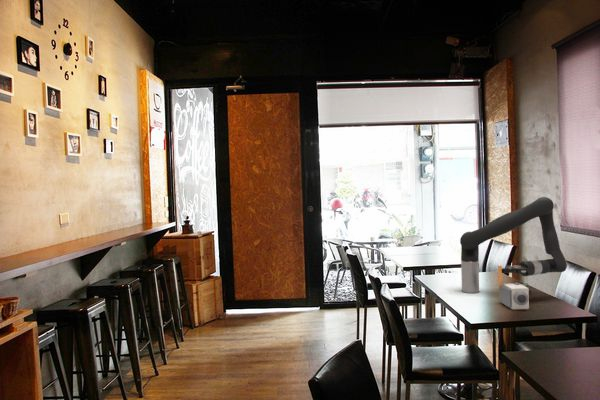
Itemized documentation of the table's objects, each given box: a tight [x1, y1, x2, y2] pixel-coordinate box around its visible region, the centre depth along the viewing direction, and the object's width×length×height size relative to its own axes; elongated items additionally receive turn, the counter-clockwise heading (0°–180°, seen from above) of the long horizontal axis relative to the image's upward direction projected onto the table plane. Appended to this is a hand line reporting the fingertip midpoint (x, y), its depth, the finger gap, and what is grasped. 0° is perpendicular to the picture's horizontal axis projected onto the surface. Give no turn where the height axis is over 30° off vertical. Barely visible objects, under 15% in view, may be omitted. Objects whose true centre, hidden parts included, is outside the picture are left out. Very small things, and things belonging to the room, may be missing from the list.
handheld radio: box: [521, 282, 532, 294], centre depth 262 cm, size 7×3×25 cm
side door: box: [497, 265, 512, 309], centre depth 245 cm, size 13×1×18 cm, turn 179°
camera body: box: [502, 281, 530, 310], centre depth 244 cm, size 14×8×11 cm, turn 177°
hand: (501, 271), depth 250 cm, fingers closed
